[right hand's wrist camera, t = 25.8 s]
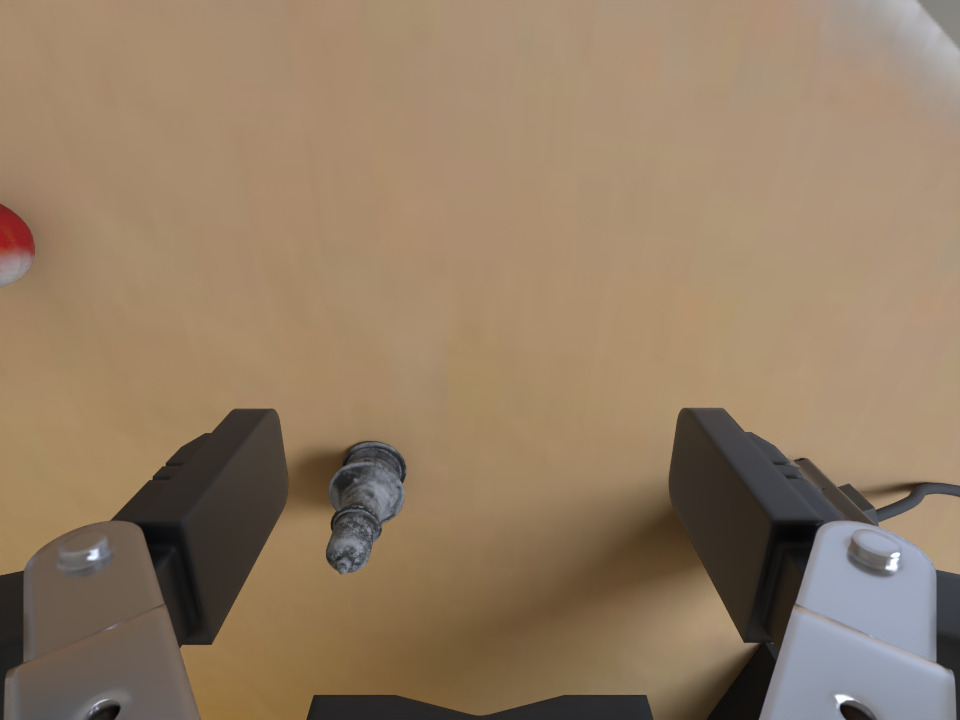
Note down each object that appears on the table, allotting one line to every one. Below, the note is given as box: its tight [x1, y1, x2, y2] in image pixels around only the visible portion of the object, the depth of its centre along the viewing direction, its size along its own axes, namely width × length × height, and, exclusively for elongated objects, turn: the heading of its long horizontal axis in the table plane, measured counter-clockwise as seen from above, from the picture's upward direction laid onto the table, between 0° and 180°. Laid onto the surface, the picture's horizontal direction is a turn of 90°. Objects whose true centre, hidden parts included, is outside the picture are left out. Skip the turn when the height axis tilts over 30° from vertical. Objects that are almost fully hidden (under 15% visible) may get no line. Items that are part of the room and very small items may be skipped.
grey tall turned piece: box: [326, 442, 406, 574], centre depth 41 cm, size 6×6×12 cm
